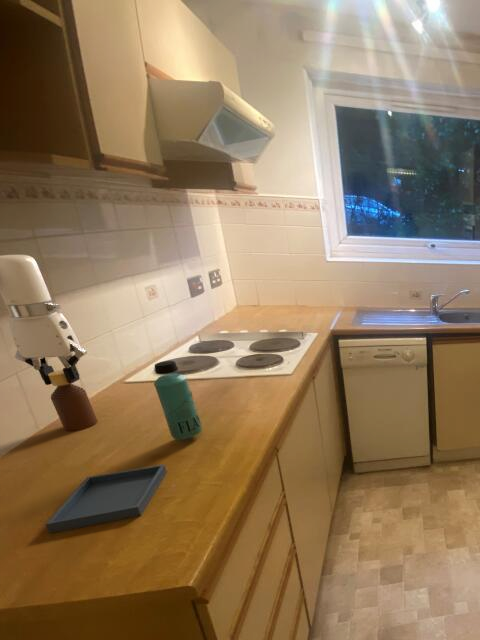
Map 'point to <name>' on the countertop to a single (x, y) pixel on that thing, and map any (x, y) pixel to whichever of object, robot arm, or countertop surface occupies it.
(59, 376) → the cap
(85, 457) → the countertop surface
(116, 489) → the tray
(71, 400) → the sauce bottle
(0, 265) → the robot arm
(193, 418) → the beverage bottle
